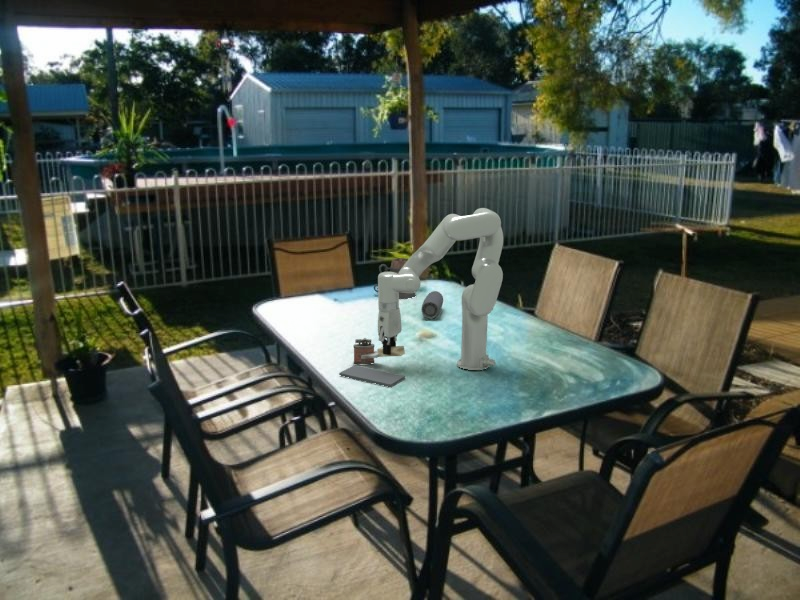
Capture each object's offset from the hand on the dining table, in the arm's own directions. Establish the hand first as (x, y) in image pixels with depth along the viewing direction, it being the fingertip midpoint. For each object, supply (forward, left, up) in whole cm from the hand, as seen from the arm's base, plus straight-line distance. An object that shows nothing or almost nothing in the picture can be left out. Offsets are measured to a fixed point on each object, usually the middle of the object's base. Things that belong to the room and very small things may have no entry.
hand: (389, 352), depth 251 cm
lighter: (+11, 0, -6) cm, 13 cm away
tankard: (+58, -101, -7) cm, 117 cm away
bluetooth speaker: (+22, -77, -7) cm, 80 cm away
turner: (+2, 0, -1) cm, 2 cm away
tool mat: (0, +11, -6) cm, 13 cm away
